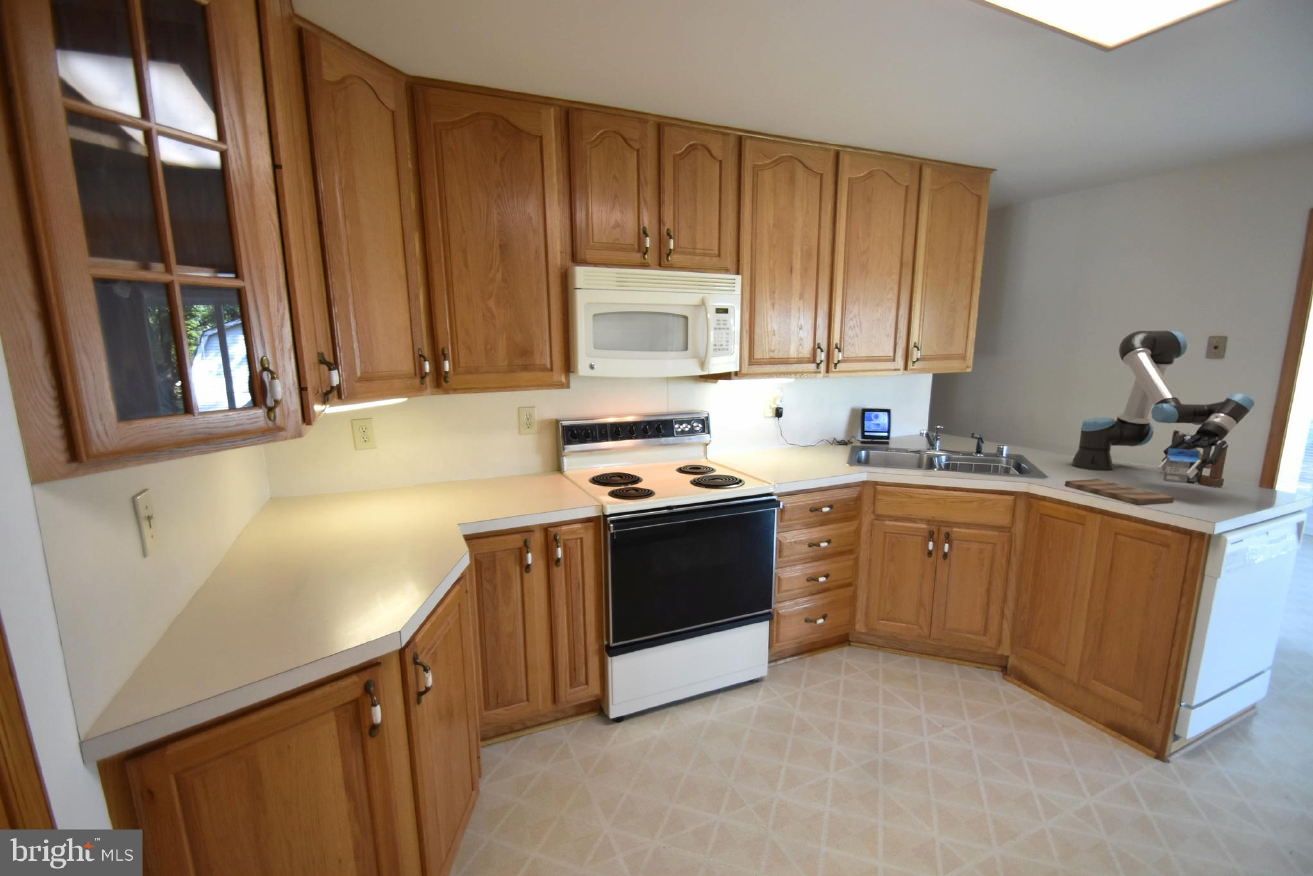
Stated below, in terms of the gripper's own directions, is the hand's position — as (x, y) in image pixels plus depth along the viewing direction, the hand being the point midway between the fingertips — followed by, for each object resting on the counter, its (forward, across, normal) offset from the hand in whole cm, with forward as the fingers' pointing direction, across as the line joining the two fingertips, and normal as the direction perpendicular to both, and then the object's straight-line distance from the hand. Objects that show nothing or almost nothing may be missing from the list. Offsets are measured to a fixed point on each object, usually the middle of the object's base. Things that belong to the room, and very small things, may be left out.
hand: (1174, 472), depth 198 cm
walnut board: (+16, -10, -2) cm, 19 cm away
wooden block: (-19, -14, +35) cm, 42 cm away
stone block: (-24, -28, +40) cm, 54 cm away
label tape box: (+1, 0, +5) cm, 5 cm away
